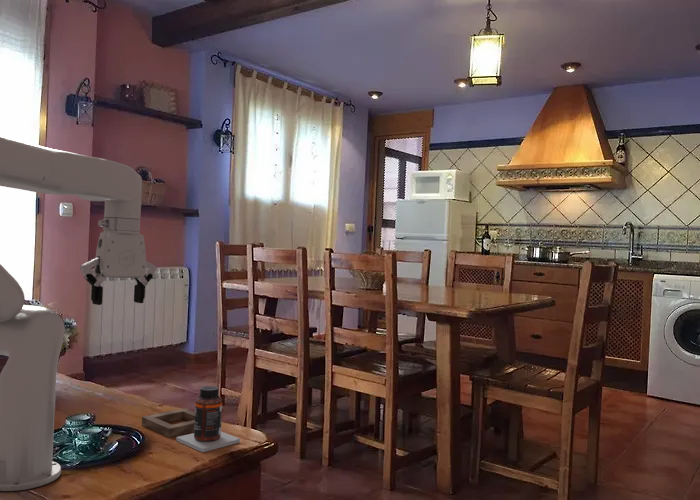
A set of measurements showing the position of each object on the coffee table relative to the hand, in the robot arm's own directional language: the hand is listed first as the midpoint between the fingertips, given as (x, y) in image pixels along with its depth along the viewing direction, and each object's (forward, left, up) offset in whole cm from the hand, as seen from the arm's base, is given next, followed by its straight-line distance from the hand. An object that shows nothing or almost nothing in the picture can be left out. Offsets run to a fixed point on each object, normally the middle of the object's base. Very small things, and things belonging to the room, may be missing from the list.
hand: (118, 303), depth 130 cm
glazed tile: (+15, -15, -30) cm, 37 cm away
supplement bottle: (+15, -15, -30) cm, 36 cm away
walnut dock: (+16, -1, -30) cm, 34 cm away
